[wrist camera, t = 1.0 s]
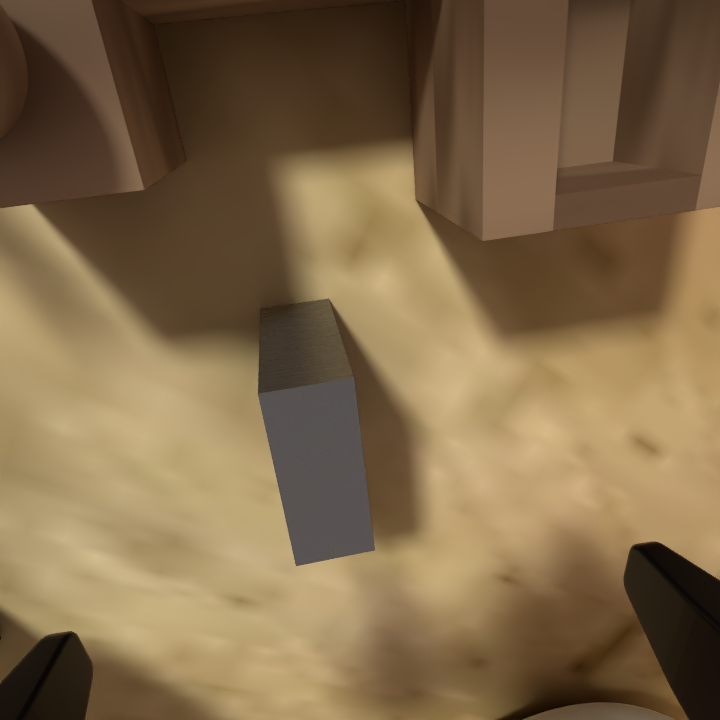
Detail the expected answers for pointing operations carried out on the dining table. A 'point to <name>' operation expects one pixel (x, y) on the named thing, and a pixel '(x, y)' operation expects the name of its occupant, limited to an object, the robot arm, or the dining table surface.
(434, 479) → the dining table surface
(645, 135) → the wooden hollow frame
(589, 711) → the serving bowl
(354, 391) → the tall grey upright block
